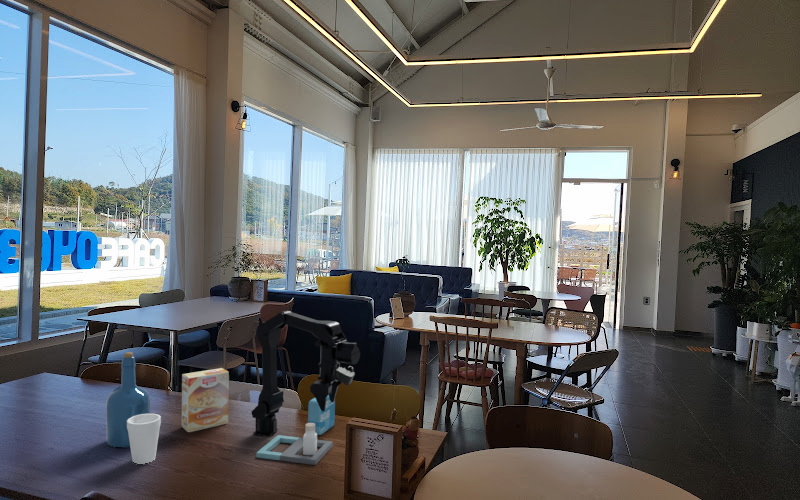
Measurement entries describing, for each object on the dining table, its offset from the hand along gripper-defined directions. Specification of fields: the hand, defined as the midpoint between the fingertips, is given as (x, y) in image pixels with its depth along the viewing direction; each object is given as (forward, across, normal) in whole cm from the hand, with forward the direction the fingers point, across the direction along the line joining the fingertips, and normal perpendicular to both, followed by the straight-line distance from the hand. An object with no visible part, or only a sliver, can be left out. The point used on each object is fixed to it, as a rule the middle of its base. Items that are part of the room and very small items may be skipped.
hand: (327, 406), depth 180 cm
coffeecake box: (+14, +7, +49) cm, 52 cm away
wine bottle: (+14, -13, +66) cm, 68 cm away
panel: (+14, -6, +8) cm, 17 cm away
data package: (+14, +14, +7) cm, 21 cm away
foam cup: (+14, -24, +51) cm, 58 cm away
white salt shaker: (+14, -7, +3) cm, 16 cm away
